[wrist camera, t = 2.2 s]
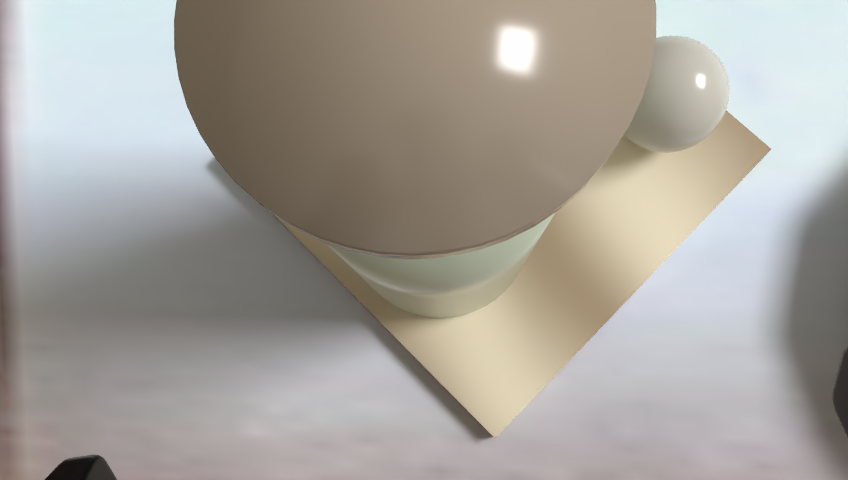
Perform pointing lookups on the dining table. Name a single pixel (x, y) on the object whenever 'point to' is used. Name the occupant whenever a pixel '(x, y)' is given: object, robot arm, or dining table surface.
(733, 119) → the board
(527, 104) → the pale green lidded canister
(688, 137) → the glossy white ball
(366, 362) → the dining table surface
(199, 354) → the dining table surface
